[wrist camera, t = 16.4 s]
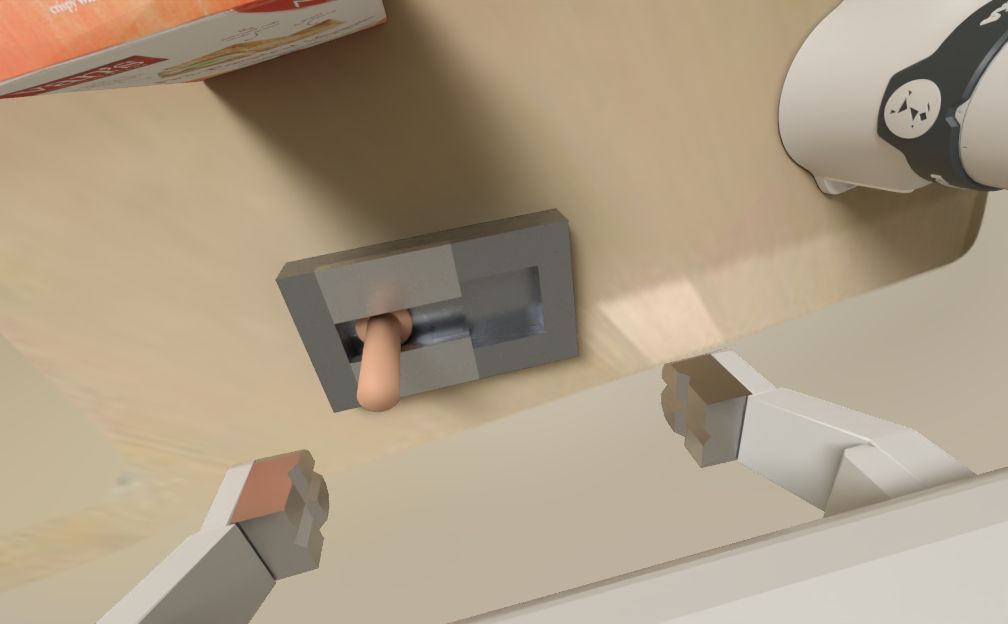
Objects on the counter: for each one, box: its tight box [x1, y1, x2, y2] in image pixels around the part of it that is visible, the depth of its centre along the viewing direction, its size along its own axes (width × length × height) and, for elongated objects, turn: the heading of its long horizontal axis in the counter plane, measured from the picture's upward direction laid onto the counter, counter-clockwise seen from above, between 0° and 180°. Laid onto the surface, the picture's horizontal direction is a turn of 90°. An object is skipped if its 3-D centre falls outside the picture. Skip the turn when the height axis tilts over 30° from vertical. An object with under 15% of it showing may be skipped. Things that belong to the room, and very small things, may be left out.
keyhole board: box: [276, 209, 579, 413], centre depth 42 cm, size 24×14×4 cm, turn 98°
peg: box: [355, 308, 412, 412], centre depth 37 cm, size 5×5×11 cm
